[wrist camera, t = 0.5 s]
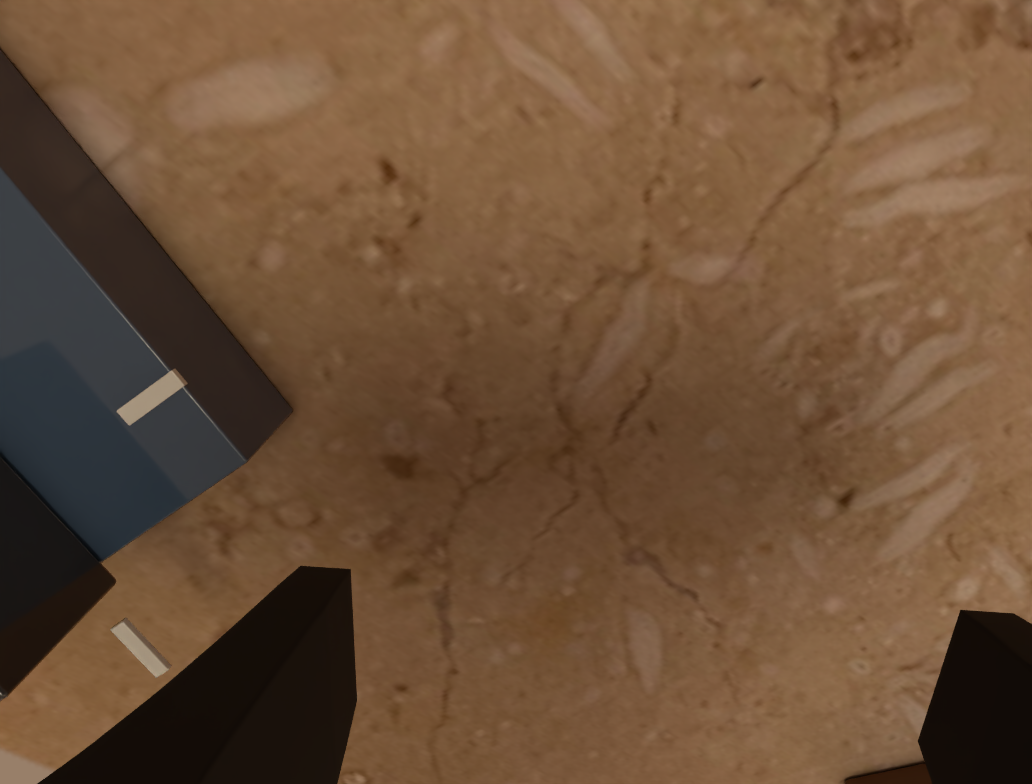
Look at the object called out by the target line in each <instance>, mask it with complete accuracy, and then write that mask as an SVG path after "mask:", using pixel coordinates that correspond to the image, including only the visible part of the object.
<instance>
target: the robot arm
mask: <svg viewBox="0 0 1032 784" xmlns="http://www.w3.org/2000/svg"><path fill="white" fill-rule="evenodd" d="M356 702H357V691H356V671H355V650H354V630H353V609H352V588H351V569H340V568H325V567H310V566H300V567H299V568H298V569H296V570H295V571H294V572H293V573H292V574H290V575H289V576H288V577H287V578H286V579H285V580H284V581H282V582H281V583H280V584H279V585H278V586H277V587H276V588H275V589H274V590H272V591H271V592H270V593H269V594H268V595H267V596H266V597H265V598H264V599H263V600H261V601H260V602H259V603H258V604H257V605H256V606H255V607H254V608H253V609H252V610H251V611H249V612H248V613H247V614H246V615H245V616H244V617H243V618H242V619H241V620H239V621H238V622H237V623H236V624H235V625H234V626H233V627H232V628H231V629H229V630H228V631H227V632H226V633H225V634H224V635H223V636H222V637H221V638H219V639H218V640H217V641H216V642H215V643H214V644H213V645H211V646H210V647H209V648H208V649H207V650H206V651H205V652H203V653H202V654H201V655H200V656H199V657H198V658H196V659H195V660H194V661H193V662H192V663H191V664H189V665H188V666H187V667H186V668H185V669H184V670H183V671H181V672H180V673H179V674H178V675H177V676H176V677H174V678H173V679H172V680H171V681H170V682H169V683H167V684H166V685H165V686H164V687H163V688H161V689H160V690H159V691H158V692H157V693H155V694H154V695H153V696H152V697H150V698H149V699H148V700H147V701H145V702H144V703H143V704H142V705H140V706H139V707H138V708H137V709H135V710H134V711H133V712H132V713H130V714H129V715H128V716H126V717H125V718H124V719H123V720H121V721H120V722H119V723H118V724H116V725H115V726H114V727H113V728H111V729H110V730H109V731H108V732H106V733H105V734H104V735H102V736H101V737H100V738H99V739H97V740H96V741H95V742H94V743H92V744H91V745H90V746H88V747H87V748H86V749H85V750H83V751H82V752H81V753H79V754H78V755H76V756H75V757H74V758H72V759H71V760H70V761H68V762H67V763H66V764H64V765H63V766H61V767H60V768H59V769H57V770H56V771H54V772H53V773H52V774H50V775H49V776H48V777H46V778H45V779H43V780H42V781H40V782H39V783H38V784H337V782H338V778H339V774H340V770H341V766H342V762H343V758H344V754H345V750H346V746H347V742H348V737H349V733H350V729H351V724H352V720H353V716H354V711H355V707H356ZM918 743H919V746H920V749H921V752H922V755H923V758H924V761H925V764H926V767H927V770H928V773H929V776H930V779H931V782H932V784H1032V624H1031V623H1029V622H1027V621H1026V620H1024V619H1022V618H1021V617H1019V616H1017V615H1015V614H1013V613H998V612H983V611H968V610H960V613H959V616H958V619H957V622H956V625H955V628H954V632H953V635H952V638H951V641H950V644H949V647H948V650H947V653H946V656H945V659H944V662H943V665H942V668H941V672H940V675H939V678H938V681H937V684H936V687H935V690H934V693H933V696H932V699H931V702H930V705H929V708H928V711H927V715H926V718H925V721H924V724H923V727H922V730H921V733H920V736H919V739H918Z"/></svg>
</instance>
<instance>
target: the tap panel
mask: <svg viewBox="0 0 1032 784" xmlns="http://www.w3.org/2000/svg"><path fill="white" fill-rule="evenodd" d="M292 412H293V410H292V408H291V407H290V406H289V405H288V404H287V402H286V401H285V400H284V399H283V397H282V396H281V395H280V394H279V392H278V391H277V390H276V389H275V387H274V386H273V385H272V384H271V383H270V381H269V380H268V379H267V378H266V376H265V375H264V374H263V373H262V371H261V370H260V369H259V368H258V367H257V365H256V364H255V363H254V362H253V360H252V359H251V358H250V357H249V355H248V354H247V353H246V352H245V351H244V349H243V348H242V347H241V346H240V344H239V343H238V342H237V341H236V339H235V338H234V337H233V336H232V335H231V333H230V332H229V331H228V330H227V328H226V327H225V326H224V325H223V323H222V322H221V321H220V320H219V318H218V317H217V316H216V315H215V314H214V312H213V311H212V310H211V309H210V307H209V306H208V305H207V304H206V302H205V301H204V300H203V299H202V298H201V296H200V295H199V294H198V293H197V291H196V290H195V289H194V288H193V286H192V285H191V284H190V283H189V282H188V280H187V279H186V278H185V277H184V275H183V274H182V273H181V272H180V270H179V269H178V268H177V267H176V265H175V264H174V263H173V262H172V261H171V259H170V258H169V257H168V256H167V254H166V253H165V252H164V251H163V249H162V248H161V247H160V246H159V245H158V243H157V242H156V241H155V240H154V238H153V237H152V236H151V235H150V233H149V232H148V231H147V230H146V229H145V227H144V226H143V225H142V224H141V222H140V221H139V220H138V219H137V217H136V216H135V215H134V214H133V212H132V211H131V210H130V209H129V208H128V206H127V205H126V204H125V203H124V201H123V200H122V199H121V198H120V196H119V195H118V194H117V193H116V192H115V190H114V189H113V188H112V187H111V185H110V184H109V183H108V182H107V180H106V179H105V178H104V177H103V176H102V174H101V173H100V172H99V171H98V169H97V168H96V167H95V166H94V164H93V163H92V162H91V161H90V159H89V158H88V157H87V156H86V155H85V153H84V152H83V151H82V150H81V148H80V147H79V146H78V145H77V143H76V142H75V141H74V140H73V139H72V137H71V136H70V135H69V134H68V132H67V131H66V130H65V129H64V127H63V126H62V125H61V124H60V123H59V121H58V120H57V119H56V118H55V116H54V115H53V114H52V113H51V111H50V110H49V109H48V108H47V106H46V105H45V104H44V103H43V102H42V100H41V99H40V98H39V97H38V95H37V94H36V93H35V92H34V90H33V89H32V88H31V87H30V86H29V84H28V83H27V82H26V81H25V79H24V78H23V77H22V76H21V74H20V73H19V72H18V71H17V70H16V68H15V67H14V66H13V65H12V63H11V62H10V61H9V60H8V58H7V57H6V56H5V55H4V53H3V52H2V51H1V50H0V456H1V457H2V458H3V460H4V461H5V462H6V463H7V464H8V465H9V466H10V467H11V468H12V469H13V470H14V471H15V472H16V473H17V474H18V476H19V477H20V478H21V479H22V480H23V481H24V482H25V483H26V484H27V485H28V486H29V487H30V488H31V489H32V490H33V492H34V493H35V494H36V495H37V496H38V497H39V498H40V499H41V500H42V501H43V502H44V503H45V504H46V505H47V506H48V508H49V509H50V510H51V511H52V512H53V513H54V514H55V515H56V516H57V517H58V518H59V519H60V520H61V521H62V522H63V523H64V525H65V526H66V527H67V528H68V529H69V530H70V531H71V532H72V533H73V534H74V535H75V536H76V537H77V538H78V539H79V541H80V542H81V543H82V544H83V545H84V546H85V547H86V548H87V549H88V550H89V551H90V552H91V553H92V554H93V555H94V557H95V558H96V559H97V560H98V561H99V562H100V563H101V562H103V561H104V560H106V559H107V558H109V557H110V556H111V555H113V554H114V553H116V552H117V551H119V550H120V549H122V548H123V547H125V546H126V545H127V544H129V543H130V542H132V541H133V540H135V539H136V538H138V537H139V536H141V535H142V534H143V533H145V532H146V531H148V530H149V529H151V528H152V527H154V526H155V525H157V524H158V523H159V522H161V521H162V520H164V519H165V518H167V517H168V516H170V515H171V514H173V513H174V512H175V511H177V510H178V509H180V508H181V507H183V506H184V505H186V504H187V503H189V502H190V501H191V500H193V499H194V498H196V497H197V496H199V495H200V494H202V493H203V492H205V491H206V490H207V489H209V488H210V487H212V486H213V485H215V484H216V483H218V482H219V481H221V480H222V479H223V478H225V477H226V476H228V475H229V474H231V473H232V472H234V471H235V470H237V469H238V468H239V467H241V466H242V465H244V464H245V463H247V462H248V461H249V460H250V459H251V457H252V456H253V455H254V454H255V453H256V452H257V451H258V450H259V449H260V448H261V447H262V445H263V444H264V443H265V442H266V441H267V440H268V439H269V438H270V437H271V436H272V434H273V433H274V432H275V431H276V430H277V429H278V428H279V427H280V426H281V425H282V424H283V422H284V421H285V420H286V419H287V418H288V417H289V416H290V415H291V414H292ZM110 630H111V631H112V632H113V633H114V634H115V636H116V637H117V638H118V639H119V640H120V641H121V642H122V643H123V644H124V645H125V646H126V647H127V648H128V649H129V650H130V651H131V652H132V653H133V654H134V655H135V656H136V657H137V658H138V659H139V661H140V662H141V663H142V664H143V665H144V666H145V667H146V668H147V669H148V670H149V671H150V672H151V673H152V674H153V675H154V676H155V677H156V678H157V677H159V676H160V675H162V674H163V673H165V672H167V671H168V670H169V669H170V668H171V666H172V665H171V664H170V663H169V662H168V661H167V660H166V659H165V658H164V657H163V656H162V655H161V654H160V653H159V652H158V650H157V649H156V648H155V647H154V646H153V645H152V644H151V643H150V642H149V641H148V640H147V639H146V638H145V637H144V636H143V635H142V634H141V633H140V631H139V630H138V629H137V628H136V627H135V626H134V625H133V624H132V623H131V622H130V621H129V620H128V619H127V618H124V619H123V620H121V621H120V622H118V623H117V624H115V625H114V626H113V627H112V628H111V629H110Z"/></svg>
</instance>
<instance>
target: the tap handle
mask: <svg viewBox="0 0 1032 784" xmlns="http://www.w3.org/2000/svg"><path fill="white" fill-rule="evenodd" d="M115 583H116V579H115V578H114V577H113V576H112V575H111V574H110V573H109V571H108V570H107V569H106V568H105V567H104V566H103V565H102V564H101V563H100V562H99V561H98V560H97V559H96V558H95V557H94V555H93V554H92V553H91V552H90V551H89V550H88V549H87V548H86V547H85V546H84V545H83V544H82V543H81V542H80V541H79V539H78V538H77V537H76V536H75V535H74V534H73V533H72V532H71V531H70V530H69V529H68V528H67V527H66V526H65V525H64V523H63V522H62V521H61V520H60V519H59V518H58V517H57V516H56V515H55V514H54V513H53V512H52V511H51V510H50V509H49V508H48V506H47V505H46V504H45V503H44V502H43V501H42V500H41V499H40V498H39V497H38V496H37V495H36V494H35V493H34V492H33V490H32V489H31V488H30V487H29V486H28V485H27V484H26V483H25V482H24V481H23V480H22V479H21V478H20V477H19V476H18V474H17V473H16V472H15V471H14V470H13V469H12V468H11V467H10V466H9V465H8V464H7V463H6V462H5V461H4V460H3V458H2V457H1V456H0V701H2V700H3V699H5V698H6V697H8V696H9V695H10V694H11V692H12V691H13V690H14V689H15V688H16V687H17V686H18V685H19V684H20V683H21V682H22V681H23V680H24V679H25V678H26V677H27V676H28V675H29V674H30V673H31V672H32V671H33V670H34V669H35V667H36V666H37V665H38V664H39V663H40V662H41V661H42V660H43V659H44V658H45V657H46V656H47V655H48V654H49V653H50V652H51V651H52V650H53V649H54V648H55V647H56V646H57V645H58V644H59V642H60V641H61V640H62V639H63V638H64V637H65V636H66V635H67V634H68V633H69V632H70V631H71V630H72V629H73V628H74V627H75V626H76V625H77V624H78V623H79V622H80V621H81V620H82V619H83V617H84V616H85V615H86V614H87V613H88V612H89V611H90V610H91V609H92V608H93V607H94V606H95V605H96V604H97V603H98V602H99V601H100V600H101V599H102V598H103V597H104V596H105V595H106V594H107V592H108V591H109V590H110V589H111V588H112V587H113V586H114V585H115Z"/></svg>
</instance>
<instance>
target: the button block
mask: <svg viewBox="0 0 1032 784" xmlns="http://www.w3.org/2000/svg"><path fill="white" fill-rule="evenodd" d="M846 784H932V782H931V779H930V776H929V773H928V770H927V767H926V764H925V763H924V764H919V765H914V766H910V767H905V768H900V769H896V770H891V771H886V772H881V773H877V774H872V775H867V776H863V777H858V778H853V779H848V780H846Z"/></svg>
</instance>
